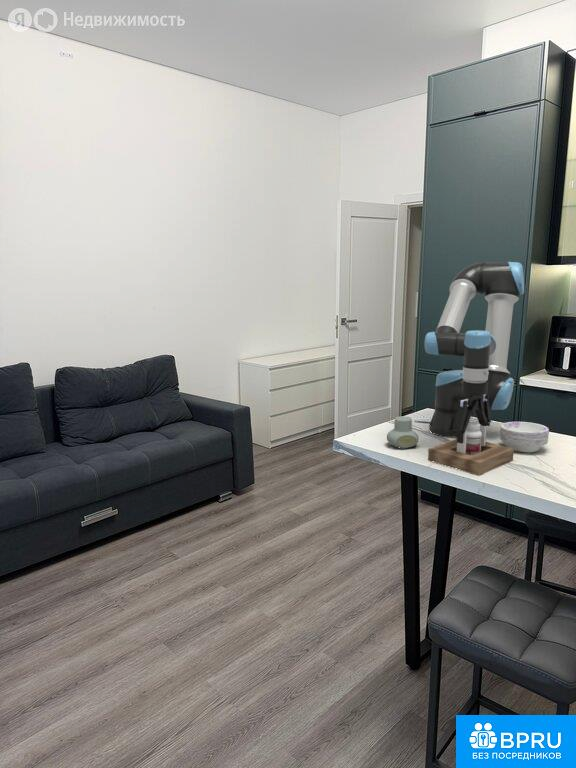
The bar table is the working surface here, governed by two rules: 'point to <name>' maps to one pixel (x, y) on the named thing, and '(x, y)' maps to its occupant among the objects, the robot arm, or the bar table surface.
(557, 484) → the bar table surface
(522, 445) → the paper bowls
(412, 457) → the bar table surface
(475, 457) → the walnut holder
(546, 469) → the bar table surface
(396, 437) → the air freshener
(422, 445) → the bar table surface
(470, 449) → the pill bottle
